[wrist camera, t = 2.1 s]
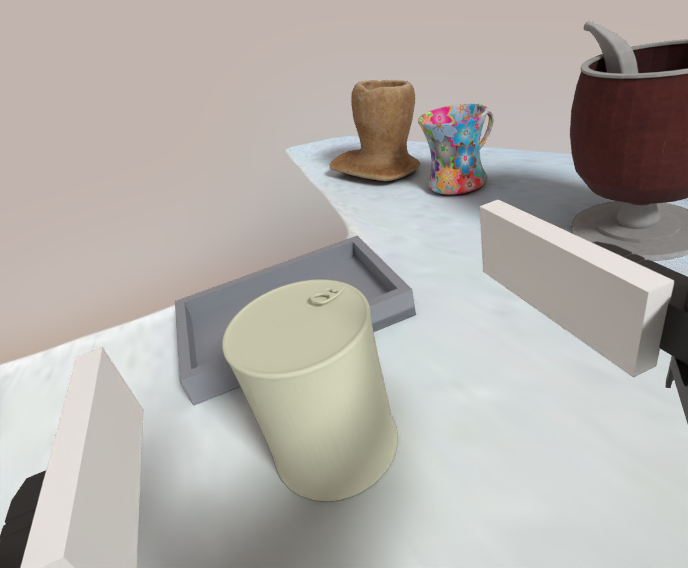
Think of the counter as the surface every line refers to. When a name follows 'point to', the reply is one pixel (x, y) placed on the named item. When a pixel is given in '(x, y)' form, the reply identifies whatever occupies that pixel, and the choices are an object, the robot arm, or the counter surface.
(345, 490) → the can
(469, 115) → the mug
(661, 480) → the counter surface
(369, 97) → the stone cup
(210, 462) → the counter surface
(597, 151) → the mate gourd
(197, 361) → the tray
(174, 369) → the counter surface
